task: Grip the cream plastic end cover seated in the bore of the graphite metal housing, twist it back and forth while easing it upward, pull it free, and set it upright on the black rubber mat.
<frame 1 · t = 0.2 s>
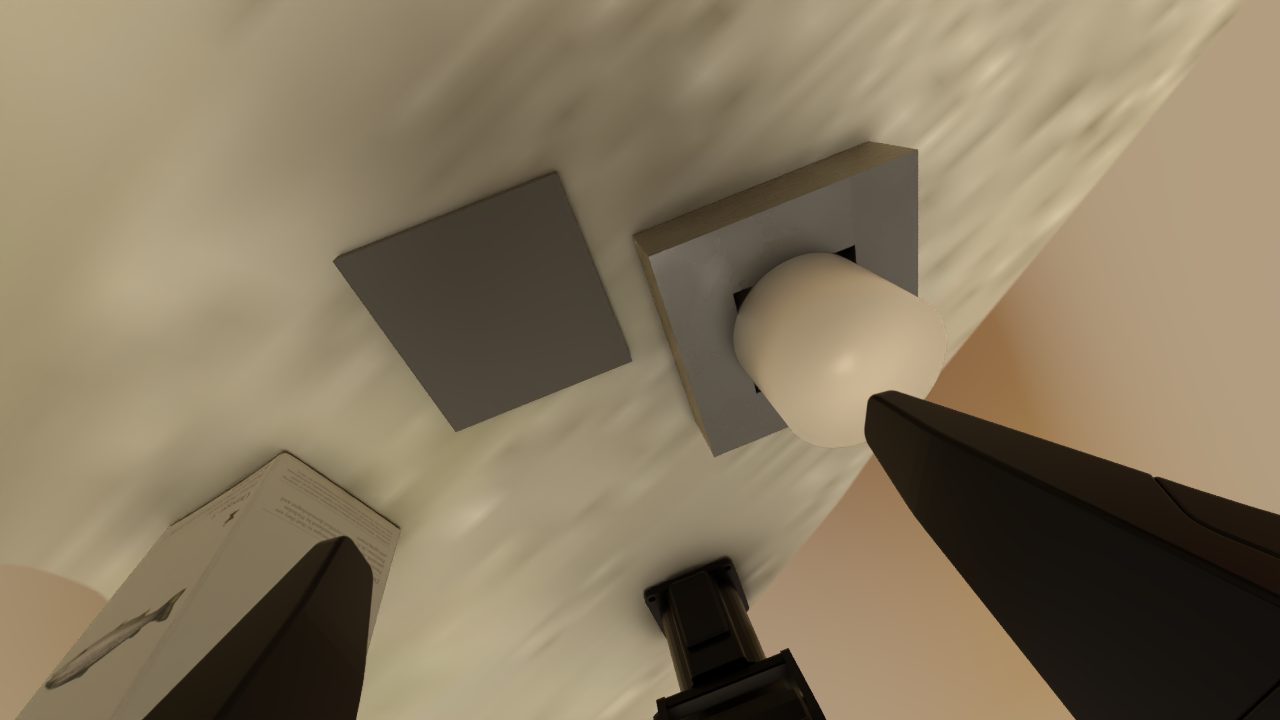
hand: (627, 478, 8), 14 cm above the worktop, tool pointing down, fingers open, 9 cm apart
supplement box: (293, 523, 24), on the worktop
rubber mat: (501, 311, 21), on the worktop
end cover: (812, 332, 20), in the housing
housing: (771, 297, 24), on the worktop
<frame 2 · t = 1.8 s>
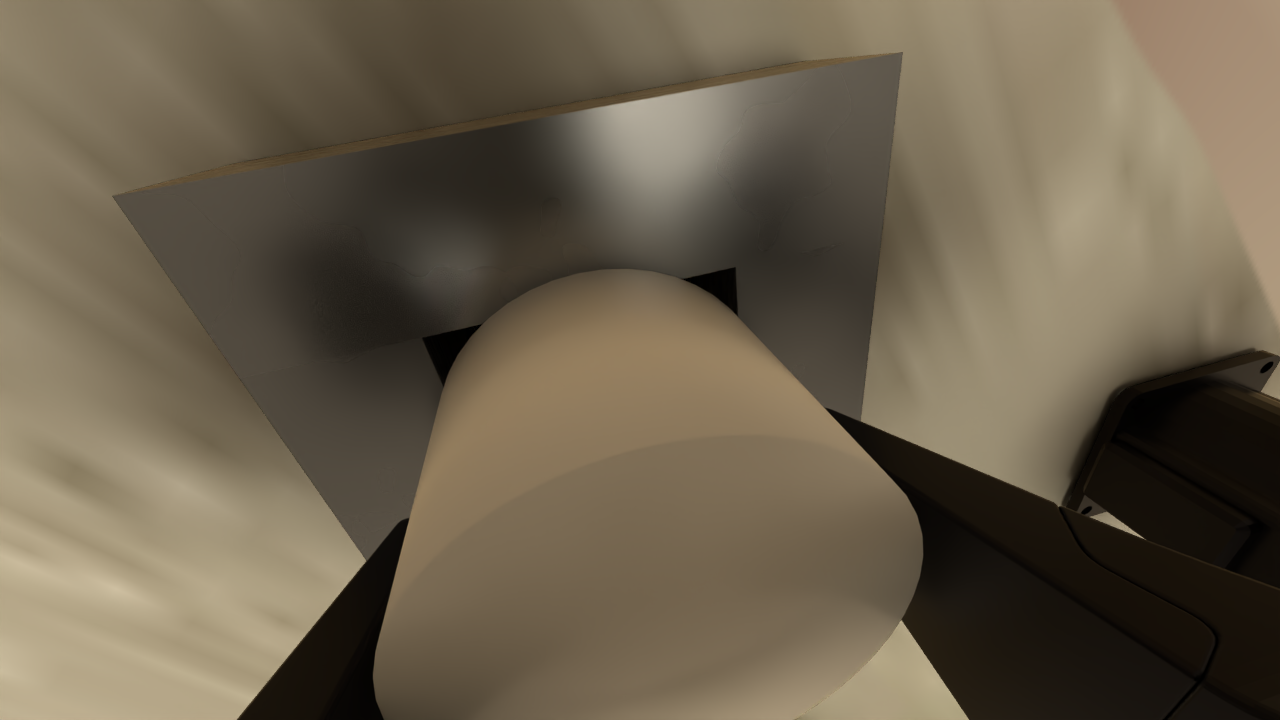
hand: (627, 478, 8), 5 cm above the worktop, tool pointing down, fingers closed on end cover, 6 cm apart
end cover: (620, 452, 9), in the housing, touching gripper
housing: (592, 353, 12), on the worktop
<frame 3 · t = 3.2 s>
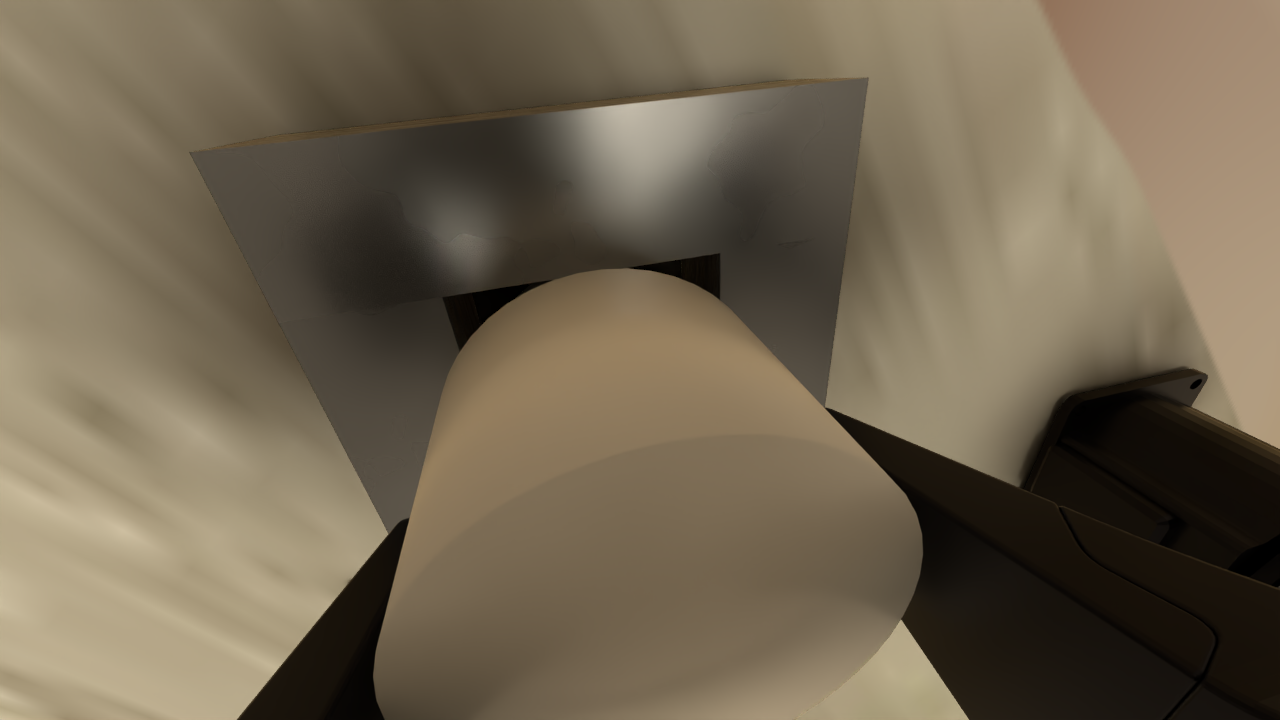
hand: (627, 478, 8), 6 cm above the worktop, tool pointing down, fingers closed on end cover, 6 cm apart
end cover: (620, 452, 9), point 5 cm above the worktop, touching gripper
housing: (588, 331, 13), on the worktop
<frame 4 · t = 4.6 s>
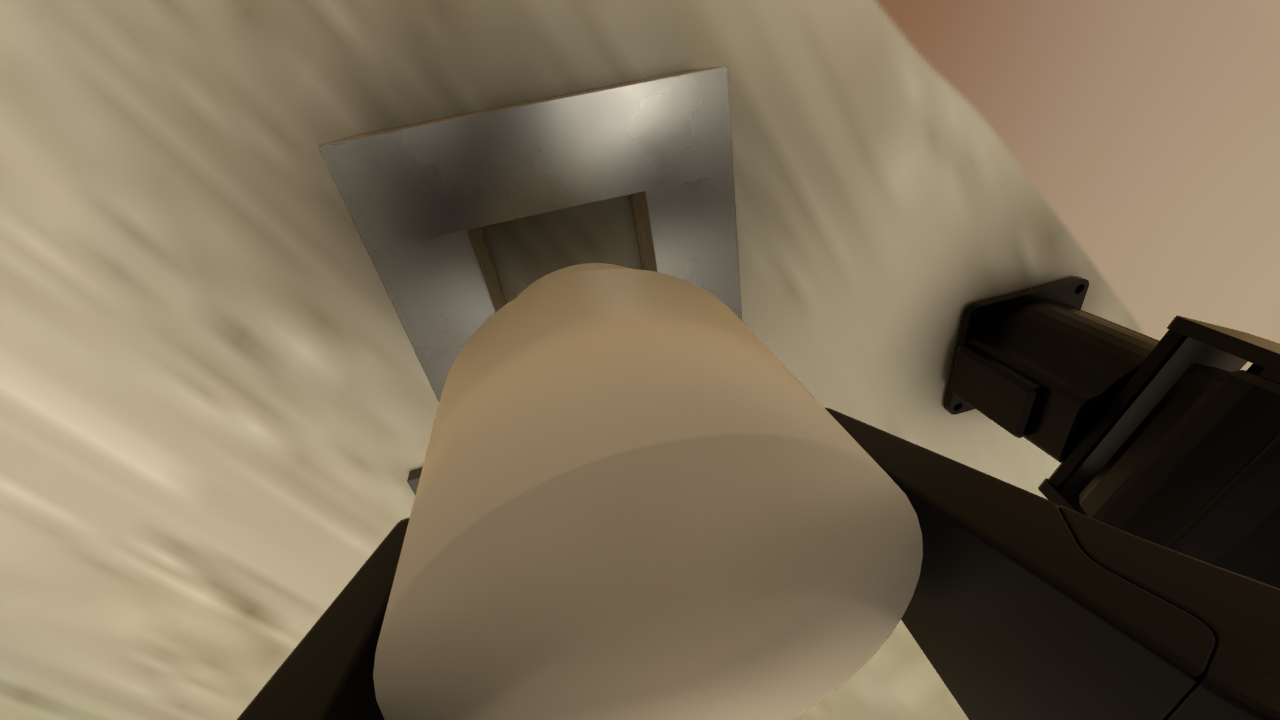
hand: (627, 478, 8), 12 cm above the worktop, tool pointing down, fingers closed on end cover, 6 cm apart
end cover: (620, 452, 9), point 11 cm above the worktop, touching gripper
housing: (570, 264, 18), on the worktop
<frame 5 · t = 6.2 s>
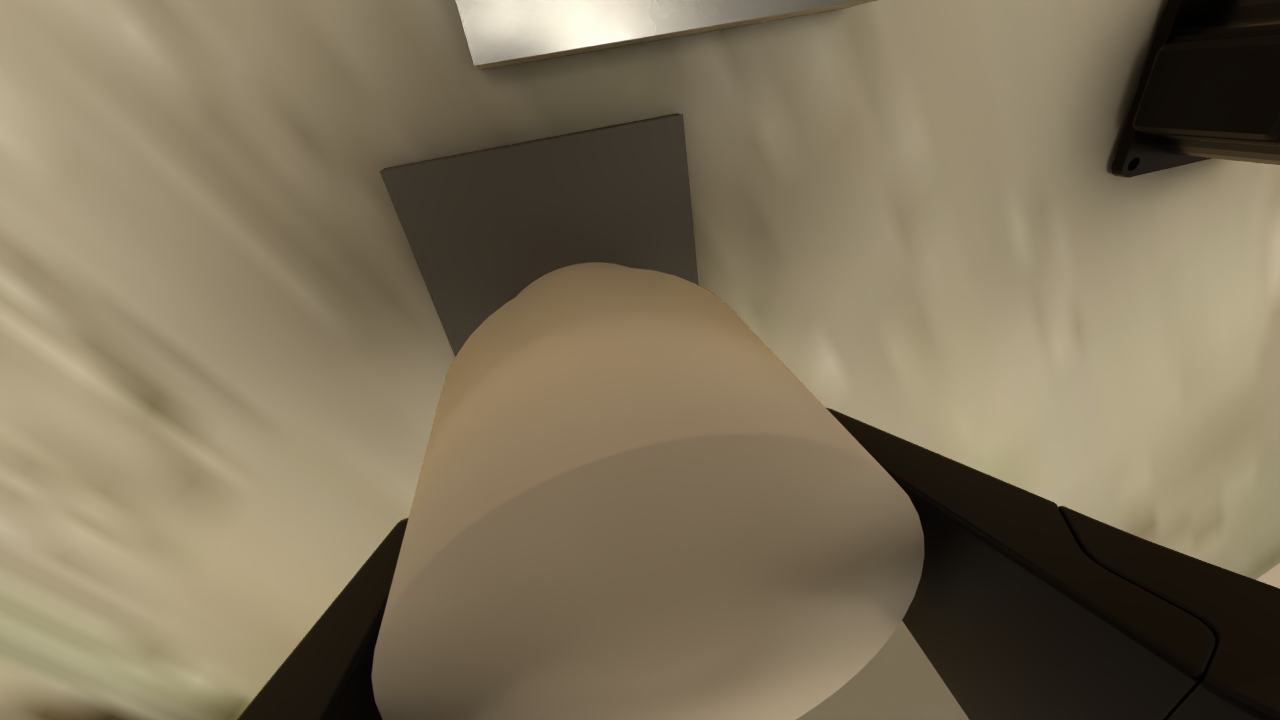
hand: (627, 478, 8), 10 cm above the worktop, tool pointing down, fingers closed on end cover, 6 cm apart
supplement box: (750, 505, 25), on the worktop
rubber mat: (568, 277, 17), on the worktop
end cover: (620, 452, 9), point 10 cm above the worktop, touching gripper
when the fingers open (6 cm above the worktop, at t = 7.3 s): end cover drops 1 cm, resting on rubber mat.
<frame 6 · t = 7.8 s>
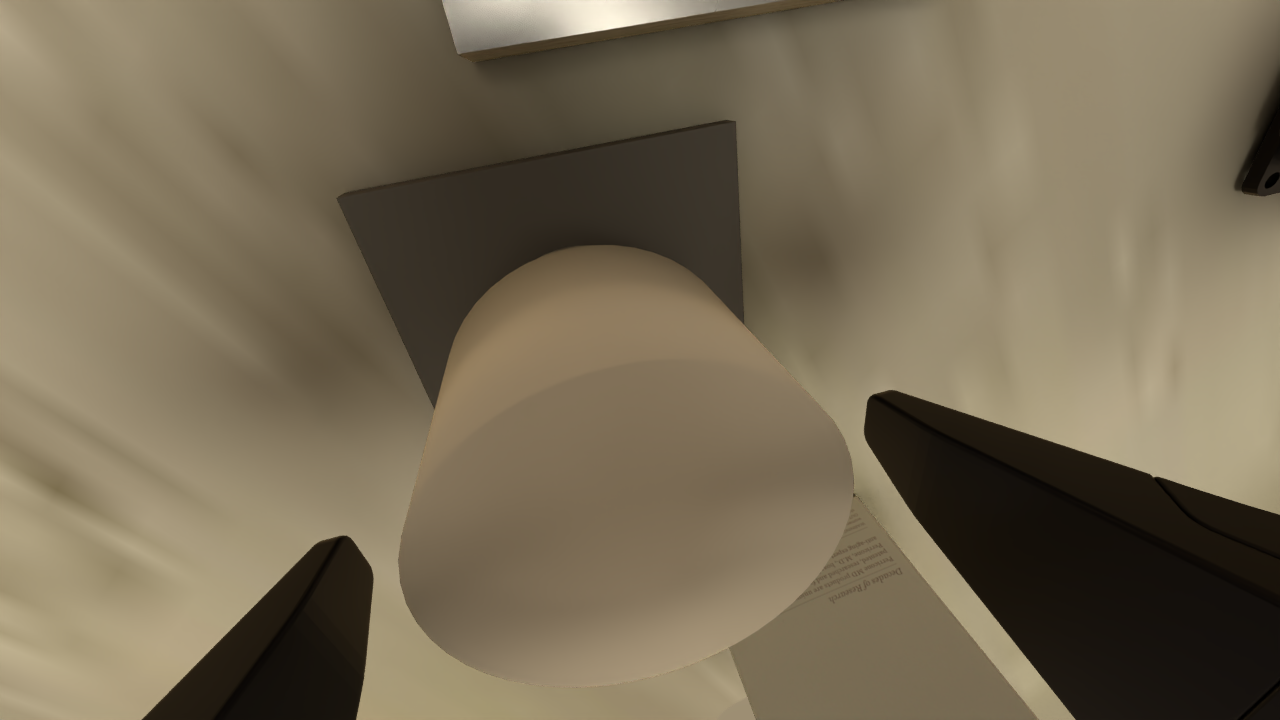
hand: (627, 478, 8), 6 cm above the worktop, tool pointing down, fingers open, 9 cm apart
supplement box: (788, 570, 22), on the worktop
rubber mat: (583, 324, 14), on the worktop
end cover: (606, 409, 10), on the rubber mat, point 4 cm above the worktop
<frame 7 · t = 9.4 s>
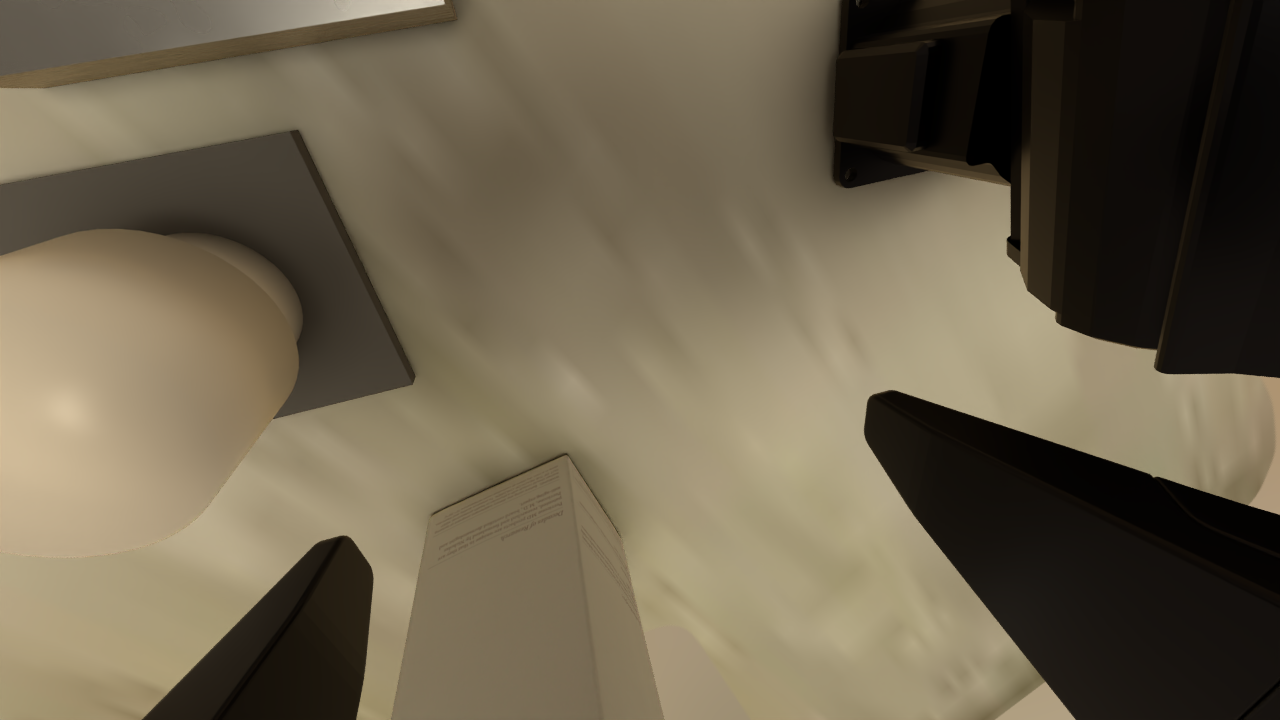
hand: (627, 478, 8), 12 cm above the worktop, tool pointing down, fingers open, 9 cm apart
supplement box: (532, 525, 25), on the worktop
rubber mat: (228, 300, 16), on the worktop
end cover: (145, 358, 13), on the rubber mat, point 4 cm above the worktop
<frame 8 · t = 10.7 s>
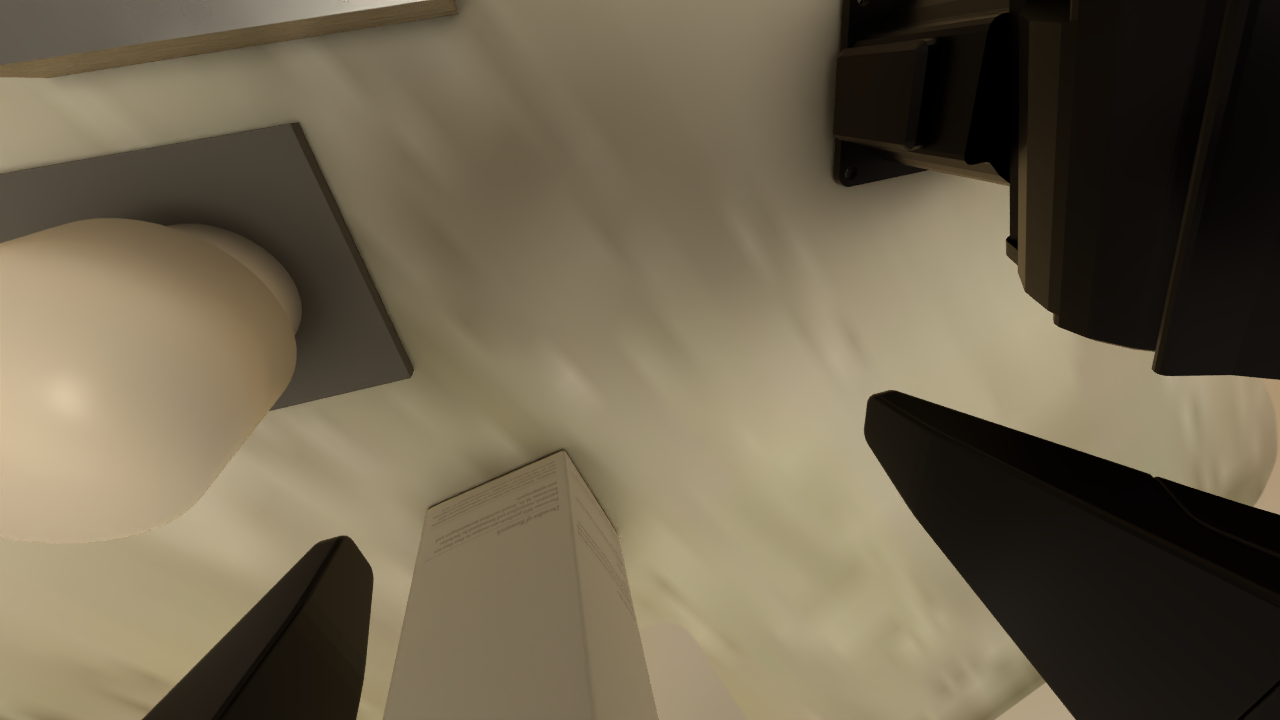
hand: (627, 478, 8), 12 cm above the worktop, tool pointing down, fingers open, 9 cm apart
supplement box: (529, 520, 25), on the worktop
rubber mat: (228, 291, 16), on the worktop
end cover: (144, 347, 13), on the rubber mat, point 4 cm above the worktop
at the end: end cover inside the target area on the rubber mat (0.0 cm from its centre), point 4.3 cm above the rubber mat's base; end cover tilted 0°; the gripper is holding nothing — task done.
